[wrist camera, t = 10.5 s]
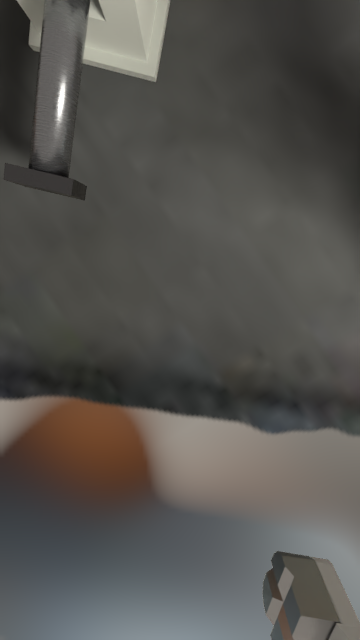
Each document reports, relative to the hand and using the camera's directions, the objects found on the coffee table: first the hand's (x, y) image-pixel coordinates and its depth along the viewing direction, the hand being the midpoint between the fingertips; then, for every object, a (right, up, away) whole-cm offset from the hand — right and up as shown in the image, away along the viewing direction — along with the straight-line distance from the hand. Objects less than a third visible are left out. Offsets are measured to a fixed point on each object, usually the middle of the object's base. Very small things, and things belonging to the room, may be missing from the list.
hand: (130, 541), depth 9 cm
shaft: (-8, +26, +17) cm, 32 cm away
